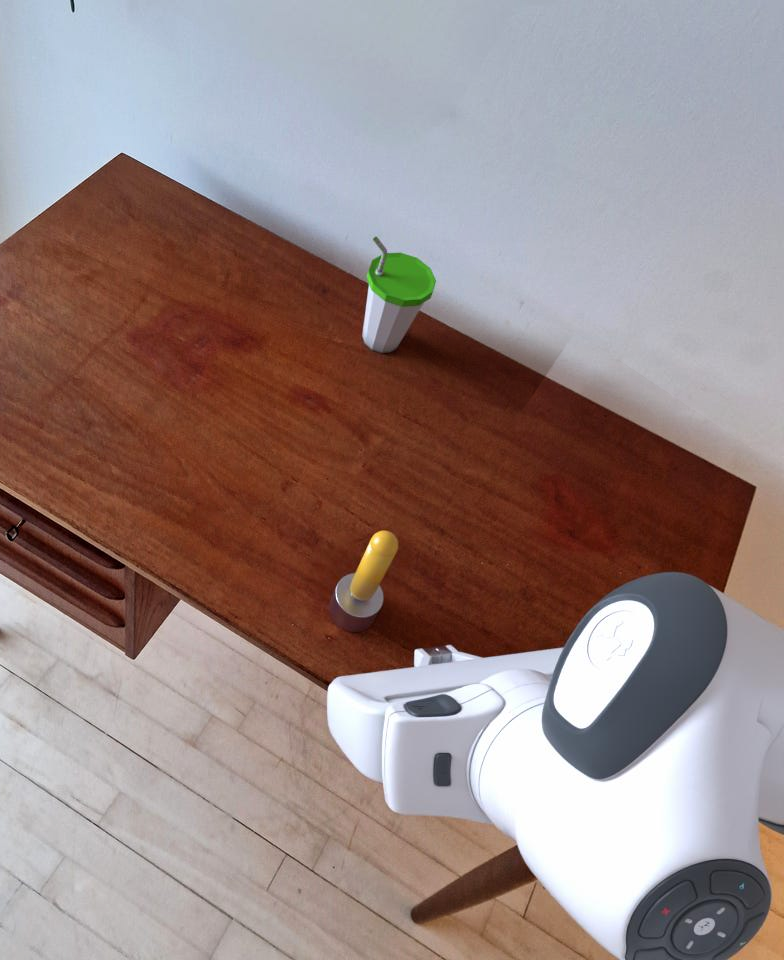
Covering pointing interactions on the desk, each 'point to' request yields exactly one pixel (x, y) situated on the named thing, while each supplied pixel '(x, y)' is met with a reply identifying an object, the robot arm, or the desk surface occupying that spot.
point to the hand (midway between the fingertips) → (431, 655)
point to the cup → (394, 297)
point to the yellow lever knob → (363, 586)
